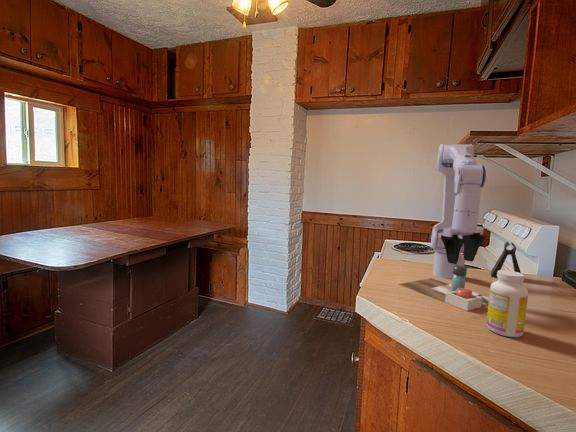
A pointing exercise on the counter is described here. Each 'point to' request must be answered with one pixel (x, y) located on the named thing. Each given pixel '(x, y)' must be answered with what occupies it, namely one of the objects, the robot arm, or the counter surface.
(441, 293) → the drawing board
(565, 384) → the counter surface
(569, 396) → the counter surface
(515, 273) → the supplement bottle
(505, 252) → the black spring clamp
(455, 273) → the marker
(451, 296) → the button housing
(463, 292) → the button
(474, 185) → the robot arm
